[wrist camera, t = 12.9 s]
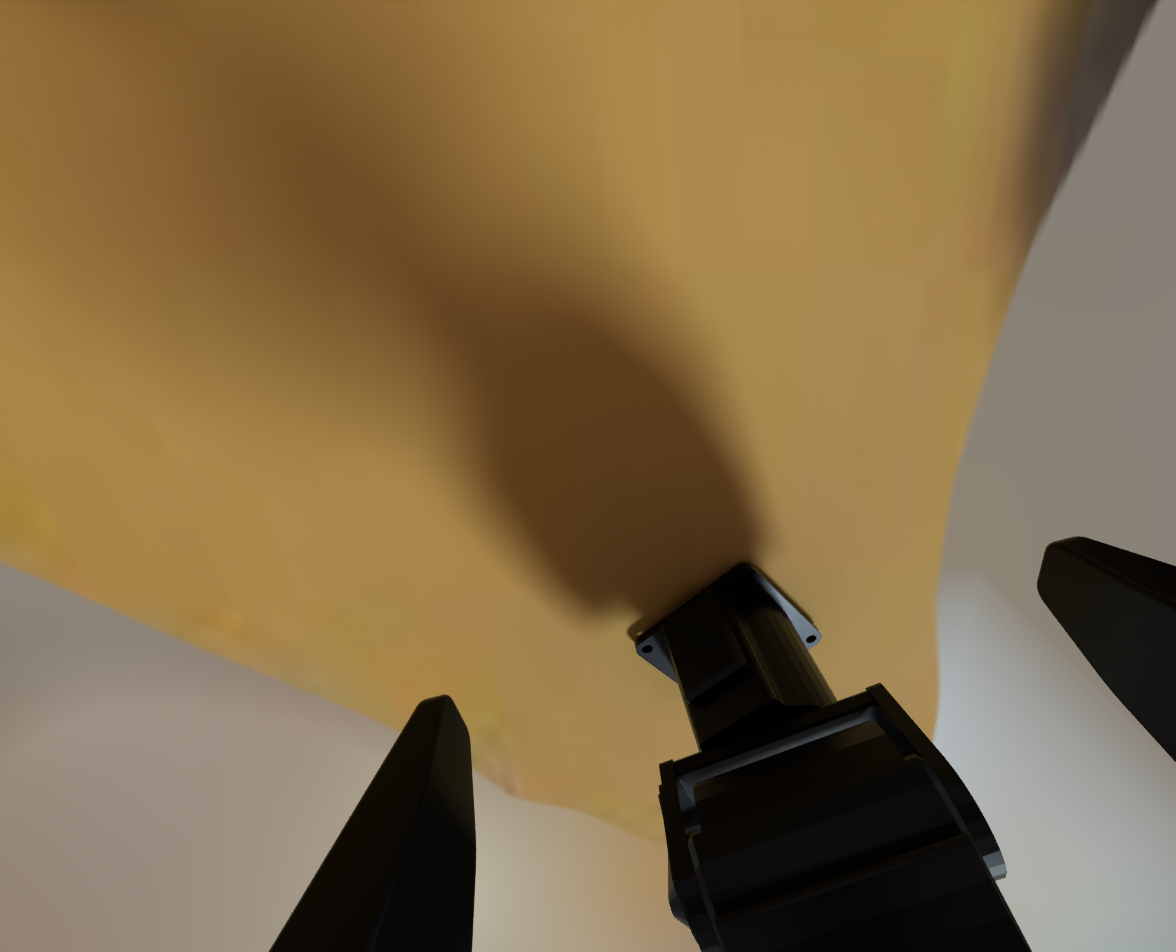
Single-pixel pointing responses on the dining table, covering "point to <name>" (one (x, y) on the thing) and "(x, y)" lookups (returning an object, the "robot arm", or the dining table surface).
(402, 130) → the dining table surface
